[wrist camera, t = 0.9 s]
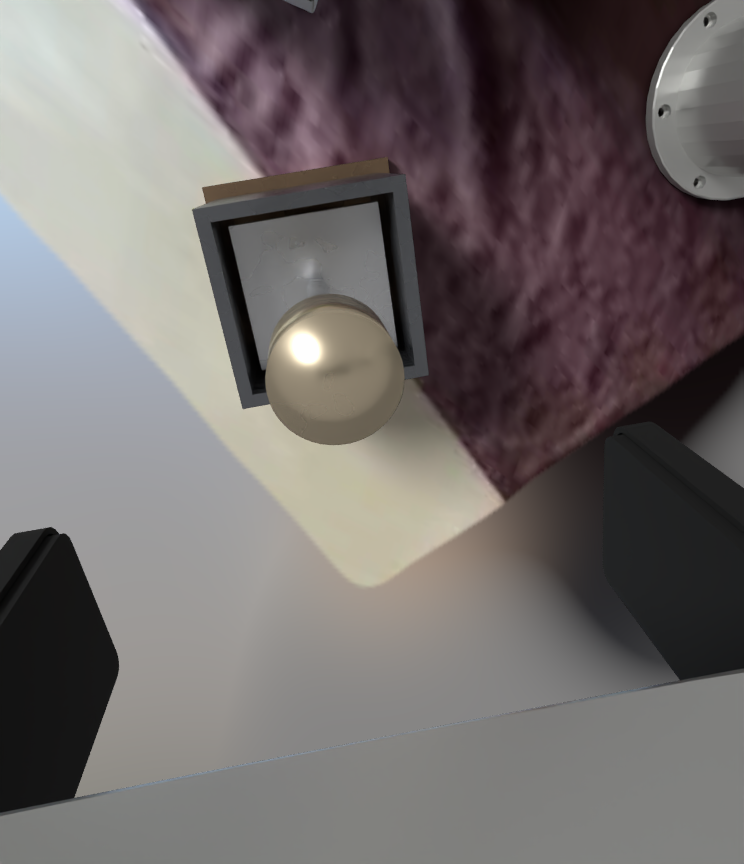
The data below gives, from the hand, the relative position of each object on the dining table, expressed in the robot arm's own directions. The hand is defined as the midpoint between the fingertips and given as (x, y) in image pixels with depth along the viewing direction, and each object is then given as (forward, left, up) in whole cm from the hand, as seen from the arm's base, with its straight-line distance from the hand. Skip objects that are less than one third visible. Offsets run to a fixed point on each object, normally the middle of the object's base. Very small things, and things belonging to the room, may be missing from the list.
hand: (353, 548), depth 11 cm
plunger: (0, 0, -26) cm, 26 cm away
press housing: (0, 0, -35) cm, 35 cm away
